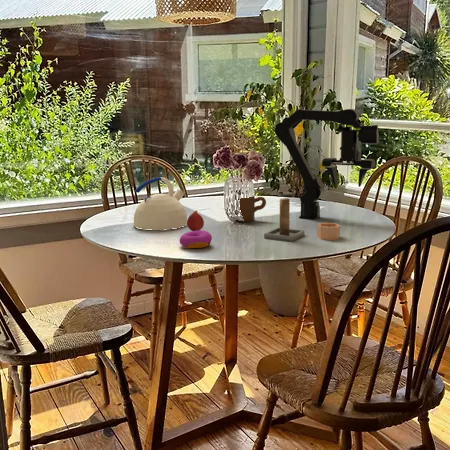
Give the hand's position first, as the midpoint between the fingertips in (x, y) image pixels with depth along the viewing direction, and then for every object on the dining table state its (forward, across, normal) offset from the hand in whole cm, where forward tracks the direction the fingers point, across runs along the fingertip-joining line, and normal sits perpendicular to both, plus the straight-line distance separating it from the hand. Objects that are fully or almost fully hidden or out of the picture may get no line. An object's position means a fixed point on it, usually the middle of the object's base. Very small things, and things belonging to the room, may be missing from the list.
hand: (347, 186), depth 197 cm
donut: (+13, +29, +58) cm, 66 cm away
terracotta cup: (+13, -4, +30) cm, 33 cm away
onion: (+13, +39, +44) cm, 60 cm away
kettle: (+13, +58, +39) cm, 71 cm away
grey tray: (+13, +9, +36) cm, 39 cm away
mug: (+13, +32, +17) cm, 39 cm away
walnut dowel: (+12, +9, +36) cm, 39 cm away
